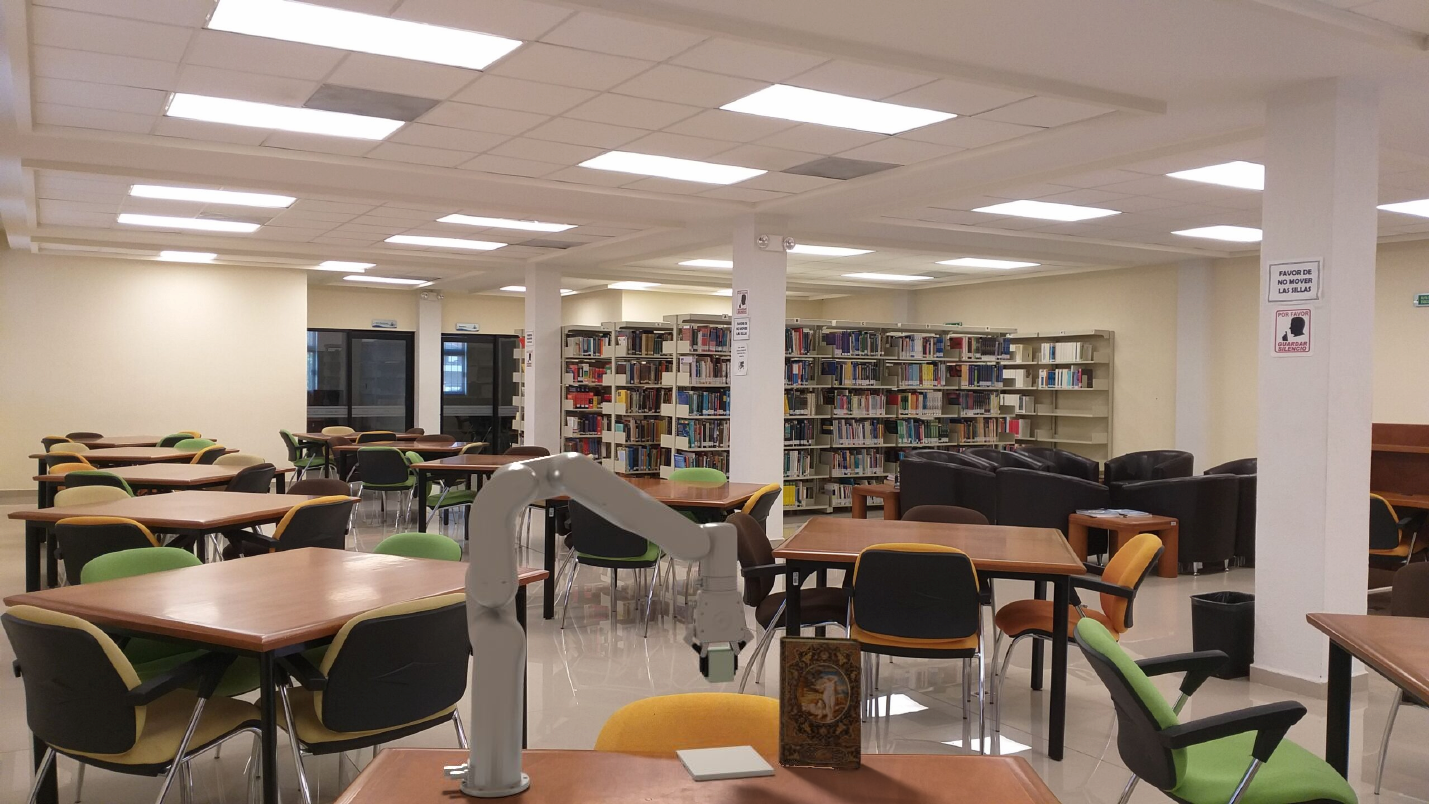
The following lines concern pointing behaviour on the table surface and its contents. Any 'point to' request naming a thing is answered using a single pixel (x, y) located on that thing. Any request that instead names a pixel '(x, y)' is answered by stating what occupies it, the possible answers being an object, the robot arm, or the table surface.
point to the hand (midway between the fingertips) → (718, 674)
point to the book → (820, 702)
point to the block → (720, 664)
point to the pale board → (724, 763)
